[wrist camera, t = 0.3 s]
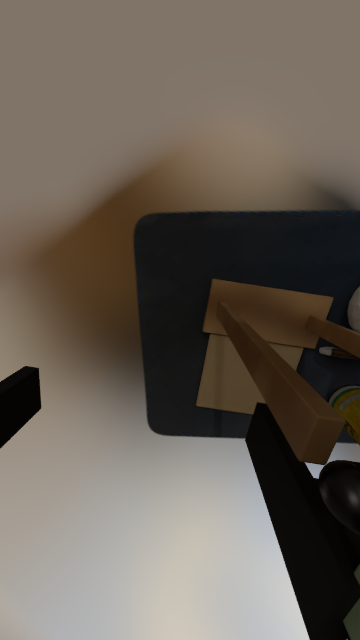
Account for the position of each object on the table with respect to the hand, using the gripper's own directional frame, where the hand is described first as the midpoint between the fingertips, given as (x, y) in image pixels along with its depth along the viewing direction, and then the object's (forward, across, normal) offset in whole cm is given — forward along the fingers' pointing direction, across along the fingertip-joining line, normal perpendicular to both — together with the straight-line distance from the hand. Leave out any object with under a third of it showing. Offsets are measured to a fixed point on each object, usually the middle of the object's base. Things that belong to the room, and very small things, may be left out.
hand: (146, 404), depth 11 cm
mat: (+13, +10, -4) cm, 17 cm away
